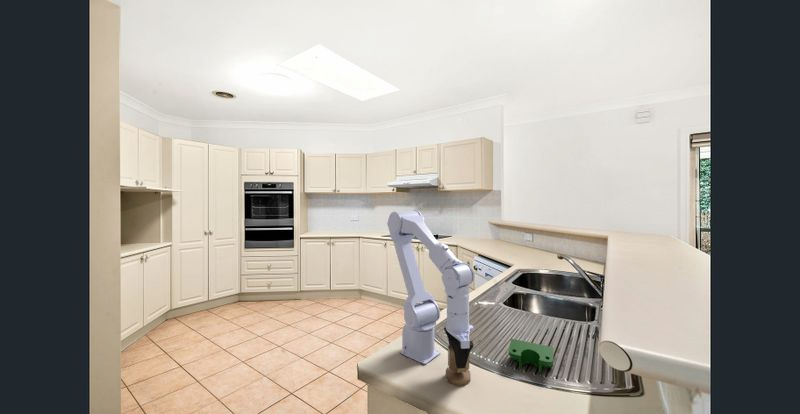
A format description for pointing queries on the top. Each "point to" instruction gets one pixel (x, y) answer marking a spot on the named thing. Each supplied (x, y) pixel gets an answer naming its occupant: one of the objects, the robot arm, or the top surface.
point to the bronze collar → (453, 364)
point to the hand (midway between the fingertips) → (458, 361)
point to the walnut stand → (457, 377)
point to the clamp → (531, 354)
